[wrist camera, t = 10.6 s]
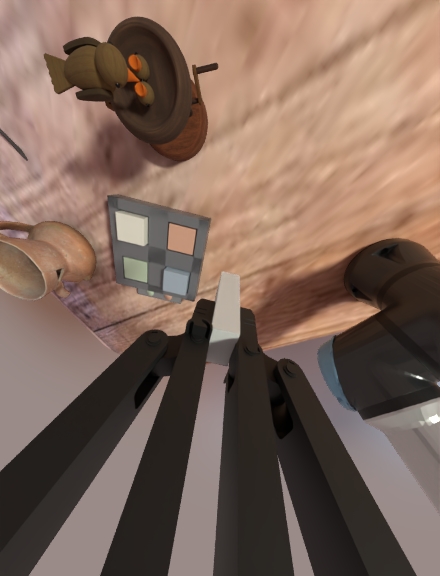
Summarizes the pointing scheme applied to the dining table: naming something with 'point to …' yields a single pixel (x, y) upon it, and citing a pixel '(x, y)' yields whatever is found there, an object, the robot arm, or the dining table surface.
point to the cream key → (132, 228)
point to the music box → (139, 84)
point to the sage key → (136, 269)
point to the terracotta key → (182, 238)
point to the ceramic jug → (43, 259)
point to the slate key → (176, 280)
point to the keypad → (158, 245)
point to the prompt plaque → (159, 296)
